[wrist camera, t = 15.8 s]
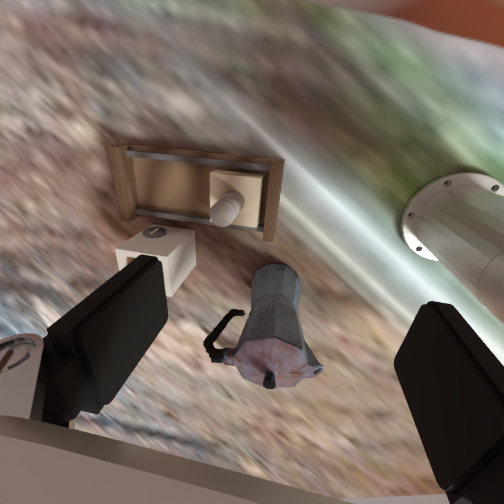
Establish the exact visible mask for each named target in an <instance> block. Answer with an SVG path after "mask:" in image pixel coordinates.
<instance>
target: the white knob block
mask: <svg viewBox="0 0 504 504" xmlns="http://www.w3.org/2000/svg"><path fill="white" fill-rule="evenodd" d="M115 251H116V256H117V261H118V265H119V270H121V269H123V268H124V267H125V266H126V265H128V264H129V263H130V262H131V261H133V260H134V259H135V258H136V257H138V256H139V255H141V254H144V255H150V256H156V257H157V258H158V259H159V261H161V262H162V265H163V274H164V283H165V291H166V296H169V297H172V295H173V294H174V293H175V291H176V290H177V289H178V287H179V286H180V285H181V284H182V282H183V281H184V280H185V278H186V277H187V276H188V274H189V273H190V272H191V271H192V269H193V268H194V267H195V265H196V248H195V230H190V229H183V228H176V227H169V226H162V225H156V224H152V225H150V226H148V227H147V228H145V229H144V230H142V231H141V232H139V233H138V234H136V235H135V236H133V237H132V238H130V239H129V240H127V241H126V242H124V243H123V244H121V245H120V246H118V247H117V248H115Z"/></svg>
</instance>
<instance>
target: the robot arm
mask: <svg viewBox="0 0 504 504" xmlns="http://www.w3.org/2000/svg"><path fill="white" fill-rule="evenodd" d="M445 181H446V183H445V184H444V182H445ZM491 187H492V188H491ZM409 213H411V214H410V215H408V214H409ZM401 234H402V237H403V239H404V241H405V243H406V244H407V245H408V247H409V248H410V249H411V250H412V251H413V252H414V253H416V254H418V255H419V256H421V257H423V258H427V259H430V260H436V261H439V262H440V263H441V264H442V265H443V266H444V267H445V268H446V269H447V270H448V271H449V272H450V273H451V274H452V275H453V276H454V277H455V278H456V279H457V280H458V281H459V282H460V283H461V284H462V285H463V286H464V287H465V288H466V289H467V290H468V291H469V292H470V293H471V294H472V295H473V296H474V297H475V298H476V299H477V300H478V301H479V302H480V303H481V304H482V305H483V306H484V307H485V308H486V309H487V310H488V311H489V312H490V313H491V314H492V315H493V316H494V317H495V318H497V319H498V320H499V321H500V322H501V323H503V324H504V185H503V184H501V183H500V182H499V181H498V180H496V179H494V178H492V177H490V176H488V175H484V174H480V173H474V172H460V173H454V174H450V175H446V176H443V177H441V178H438V179H436V180H434V181H432V182H431V183H429V184H427V185H426V186H424V187H423V188H422V189H421V190H419V191H418V192H417V193H416V194H415V195H414V196H413V197H412V198H411V200H410V201H409V203H408V204H407V206H406V207H405V210H404V212H403V214H402V218H401ZM416 247H417V248H416ZM167 319H168V308H167V300H166V291H165V283H164V274H163V265H162V262H161V261H159V259H158V258H157V257H156V256H150V255H144V254H141V255H139V256H138V257H136V258H135V259H134V260H133V261H131V262H130V263H129V264H128V265H126V266H125V267H124V268H123V269H121V270H120V271H119V272H118V273H116V274H115V275H114V276H113V277H111V278H110V279H109V280H108V281H106V282H105V283H104V284H103V285H101V286H100V287H99V288H97V289H96V290H95V291H94V292H92V293H91V294H90V295H89V296H87V297H86V298H85V299H84V300H82V301H81V302H80V303H79V304H77V305H76V306H75V307H74V308H72V309H71V310H70V311H69V312H67V313H66V314H65V315H64V316H62V317H61V318H60V319H59V320H57V321H56V322H55V323H54V324H52V325H51V326H50V327H49V328H47V332H48V335H47V336H46V337H44V338H43V339H42V338H41V337H40V336H39V335H36V334H33V333H24V334H18V335H13V336H10V337H7V338H4V339H2V340H0V504H353V503H350V502H346V501H342V500H339V499H335V498H332V497H328V496H324V495H320V494H317V493H313V492H309V491H306V490H302V489H298V488H295V487H291V486H287V485H283V484H280V483H276V482H272V481H269V480H265V479H261V478H258V477H254V476H250V475H246V474H243V473H239V472H235V471H232V470H228V469H224V468H220V467H217V466H213V465H209V464H205V463H202V462H198V461H194V460H191V459H187V458H183V457H179V456H175V455H172V454H168V453H164V452H160V451H156V450H153V449H149V448H145V447H141V446H137V445H134V444H130V443H126V442H122V441H118V440H115V439H111V438H107V437H103V436H99V435H95V434H91V433H87V432H83V431H79V430H75V418H76V417H77V415H78V414H79V413H80V411H81V410H82V411H85V412H89V413H93V414H97V415H98V414H99V412H100V411H101V409H102V408H103V406H104V405H107V404H109V403H110V402H111V401H112V400H113V399H114V397H115V396H116V394H117V393H118V392H119V390H120V389H121V387H122V386H123V384H124V383H125V381H126V380H127V379H128V377H129V376H130V374H131V373H132V371H133V370H134V368H135V367H136V366H137V364H138V363H139V361H140V360H141V358H142V357H143V355H144V354H145V353H146V351H147V350H148V348H149V347H150V345H151V344H152V342H153V341H154V340H155V338H156V337H157V335H158V334H159V332H160V331H161V329H162V328H163V327H164V325H165V324H166V322H167ZM394 368H395V371H396V374H397V377H398V379H399V382H400V385H401V387H402V390H403V393H404V395H405V398H406V401H407V403H408V406H409V409H410V411H411V414H412V417H413V419H414V422H415V425H416V428H417V430H418V433H419V436H420V438H421V441H422V444H423V446H424V449H425V452H426V454H427V457H428V460H429V462H430V465H431V468H432V470H433V473H434V476H435V478H436V481H437V483H438V485H439V486H440V487H441V488H442V489H443V490H445V492H446V495H447V497H448V500H449V502H450V504H504V366H503V365H502V364H501V363H500V361H499V360H498V359H497V358H496V357H495V355H494V354H493V353H492V352H491V350H490V349H489V348H488V347H487V346H486V344H485V343H484V342H483V341H482V340H481V338H480V337H479V336H478V335H477V334H476V332H475V331H474V330H473V329H472V328H471V326H470V325H469V324H468V323H467V322H466V320H465V319H464V318H463V317H462V315H461V314H460V313H459V312H458V311H457V309H456V308H455V307H454V306H453V305H451V304H447V303H441V302H435V301H429V302H428V303H427V304H423V305H422V306H421V307H420V309H419V311H418V313H417V315H416V317H415V319H414V321H413V323H412V325H411V327H410V329H409V331H408V333H407V335H406V337H405V339H404V341H403V343H402V345H401V346H400V348H399V350H398V352H397V354H396V356H395V359H394Z"/></svg>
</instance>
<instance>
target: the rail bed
mask: <svg viewBox="0 0 504 504" xmlns="http://www.w3.org/2000/svg"><path fill="white" fill-rule="evenodd" d="M107 147H108V153H109V158H110V163H111V168H112V174H113V179H114V184H115V190H116V195H117V200H118V206H119V211H120V216H121V220H123V221H132V220H133V219H135V218H137V217H139V216H140V215H141V216H149V217H156V218H163V219H170V220H177V221H184V222H191V223H199V224H206V225H213V226H217V225H215V224H214V223H213V222H210V215H209V212H210V172H212V171H214V170H216V169H220V170H229V171H238V172H247V173H256V174H264V182H263V193H262V204H261V214H260V222H259V224H258V226H257V228H253V227H246V226H239V225H232V224H230V225H229V226H226V227H227V228H234V229H241V230H249V231H256V232H263V241H269V242H273V239H274V235H275V231H276V224H277V216H278V208H279V200H280V193H281V185H282V177H283V169H284V161H285V160H283V159H274V158H264V157H254V156H244V155H234V154H224V153H214V152H204V151H194V150H184V149H174V148H164V147H154V146H144V145H134V144H121V145H112V146H107Z"/></svg>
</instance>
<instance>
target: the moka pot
mask: <svg viewBox="0 0 504 504" xmlns="http://www.w3.org/2000/svg"><path fill="white" fill-rule="evenodd" d="M300 292H301V283H300V279H299V277H298V274H297V273H296V272H295V271H294V270H293V269H291V268H290V267H288V266H286V265H283V264H268V265H265V266H263V267H261V268H260V269H258V270H257V271H256V272H255V275H254V277H253V279H252V281H251V311H250V313H249V318H248V319H247V321H246V323H245V326H244V329H243V331H242V334H241V337H240V339H239V342H238V344H237V347H236V348H229V347H228V348H224V349H216V348H215V347H214V346H213V343H214V342H215V341H216V340H217V338H218V337H219V334H221V332H222V331H223V329H224V328H225V327H226V325H227V324H228V322H229V321H230V320H231V319H232V318H233V317H234V316H243V315H245V312H244V310H238V309H237V310H236V309H231V310H230V311H229V312H228V314H226V315H225V316H224V318H223V319H222V320H221V321H220V322H219V324H218V325H217V326H216V327H215V328H214V330H213V331H212V332H211V333H210V335H208V336H207V337H206V338H205V341H204V342H203V345H204V347H205V348H206V352H207V353H209V357H210V358H211V362H212V363H214V362H215V363H222V362H224V364H225V365H231V366H236V367H237V369H238V370H239V372H240V374H241V376H242V378H244V379H246V380H248V381H251V382H253V383H255V384H258V385H260V386H262V387H265V388H266V389H274V388H283V387H294V386H296V385H297V384H298V383H299V382H300V381H301V380H302V379H303V378H312V377H315V376H316V375H318V374H320V373H322V372H323V370H324V366H322V365H321V364H320V363H319V362H318V361H317V359H316V358H315V356H314V354H313V353H312V351H311V350H310V348H309V346H308V345H307V343H306V342H305V340H304V336H303V332H302V328H301V324H300V321H299V318H298V307H299V300H300Z"/></svg>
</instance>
